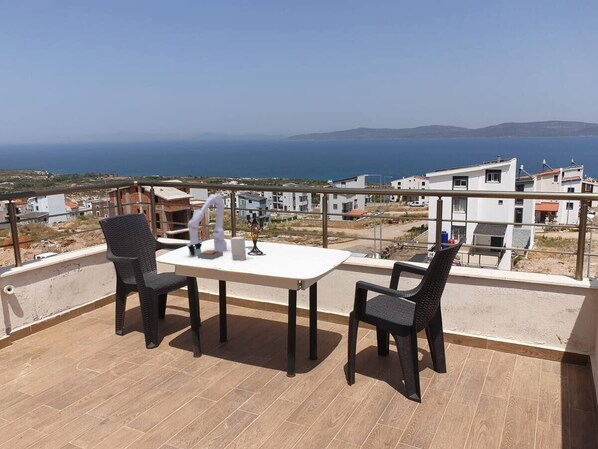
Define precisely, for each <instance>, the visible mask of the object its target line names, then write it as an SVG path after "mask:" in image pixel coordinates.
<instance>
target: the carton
mask: <svg viewBox="0 0 598 449" xmlns="http://www.w3.org/2000/svg"><path fill="white" fill-rule="evenodd" d="M188 250H189V249H188ZM188 253H189V256H190V255H191V252H190V250H189V252H188ZM194 253H195V254H194V255H191V256H190V257H196V256H197V257H198V254H201V253H202V249H201V248H200V249H196V248H195V250H194Z"/></svg>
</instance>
